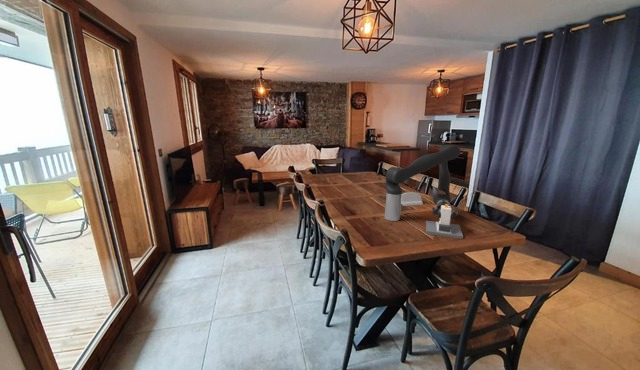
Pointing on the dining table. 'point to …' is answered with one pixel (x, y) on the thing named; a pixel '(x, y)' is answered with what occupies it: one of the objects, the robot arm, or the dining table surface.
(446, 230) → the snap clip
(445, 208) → the module
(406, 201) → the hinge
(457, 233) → the mounting plate
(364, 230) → the dining table surface
